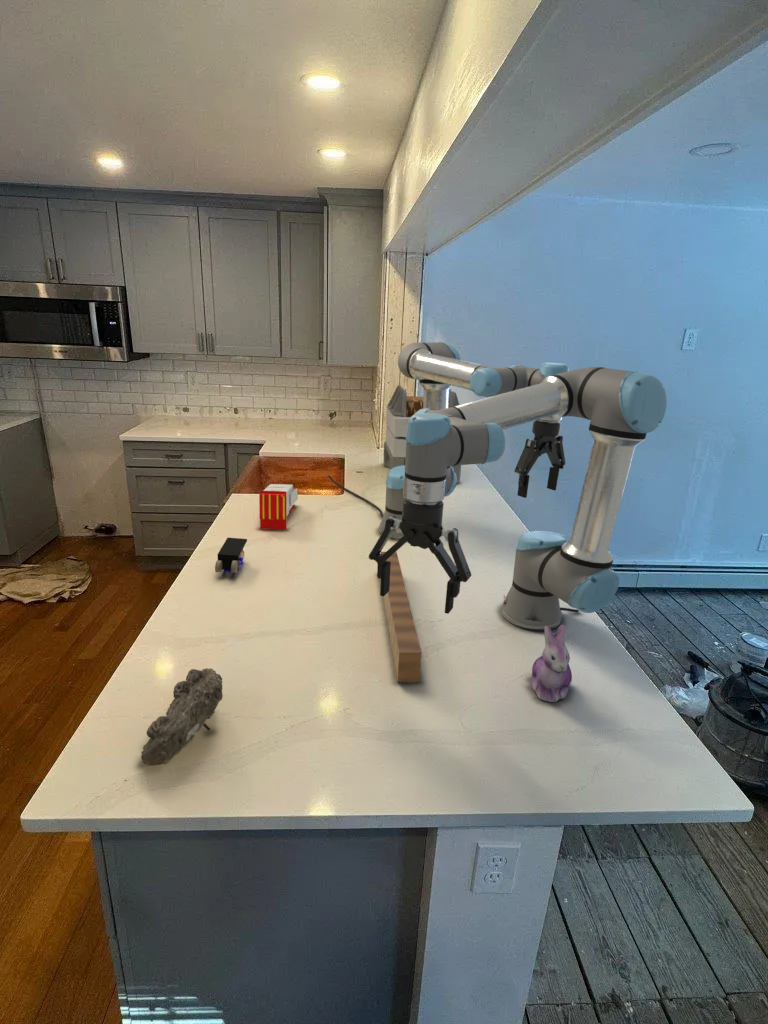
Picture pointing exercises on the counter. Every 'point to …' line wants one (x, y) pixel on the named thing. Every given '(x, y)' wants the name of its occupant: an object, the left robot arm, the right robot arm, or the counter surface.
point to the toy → (276, 505)
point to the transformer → (405, 426)
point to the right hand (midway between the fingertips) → (415, 601)
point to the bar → (402, 626)
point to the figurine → (552, 668)
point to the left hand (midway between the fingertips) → (536, 492)
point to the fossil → (183, 716)
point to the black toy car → (230, 556)
